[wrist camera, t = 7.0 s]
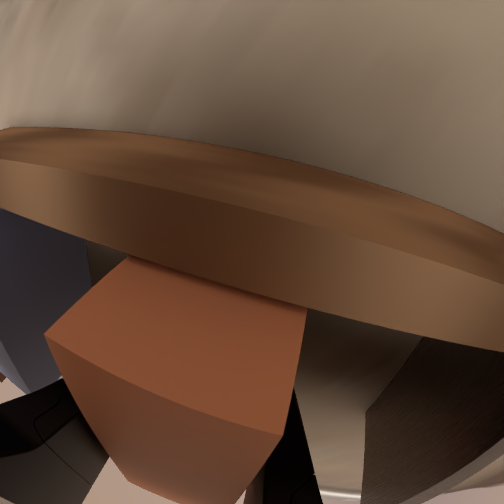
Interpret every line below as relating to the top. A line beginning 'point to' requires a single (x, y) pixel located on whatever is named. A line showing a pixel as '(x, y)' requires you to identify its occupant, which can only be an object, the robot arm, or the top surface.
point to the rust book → (180, 377)
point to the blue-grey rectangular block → (36, 295)
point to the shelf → (264, 227)
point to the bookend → (434, 423)
